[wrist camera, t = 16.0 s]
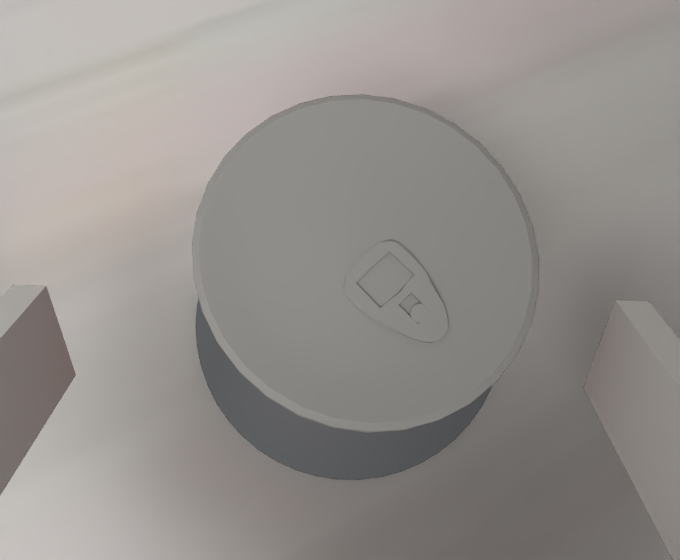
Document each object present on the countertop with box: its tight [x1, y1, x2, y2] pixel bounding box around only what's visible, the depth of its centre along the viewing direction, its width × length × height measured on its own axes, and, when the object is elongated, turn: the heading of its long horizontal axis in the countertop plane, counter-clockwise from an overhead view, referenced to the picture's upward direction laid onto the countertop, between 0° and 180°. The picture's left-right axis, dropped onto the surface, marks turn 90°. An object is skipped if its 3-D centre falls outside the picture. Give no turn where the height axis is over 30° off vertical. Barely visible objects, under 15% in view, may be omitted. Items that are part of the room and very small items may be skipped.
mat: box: [196, 299, 492, 480], centre depth 23 cm, size 13×13×1 cm
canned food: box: [192, 95, 539, 433], centre depth 17 cm, size 8×8×11 cm
